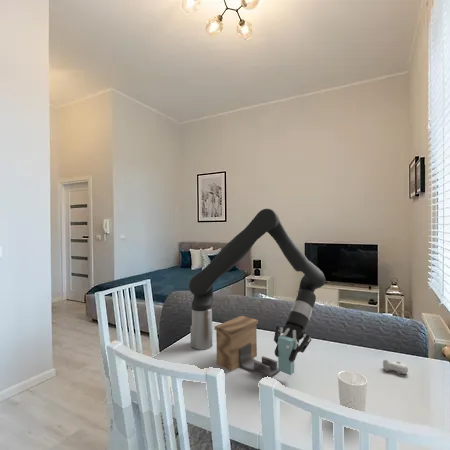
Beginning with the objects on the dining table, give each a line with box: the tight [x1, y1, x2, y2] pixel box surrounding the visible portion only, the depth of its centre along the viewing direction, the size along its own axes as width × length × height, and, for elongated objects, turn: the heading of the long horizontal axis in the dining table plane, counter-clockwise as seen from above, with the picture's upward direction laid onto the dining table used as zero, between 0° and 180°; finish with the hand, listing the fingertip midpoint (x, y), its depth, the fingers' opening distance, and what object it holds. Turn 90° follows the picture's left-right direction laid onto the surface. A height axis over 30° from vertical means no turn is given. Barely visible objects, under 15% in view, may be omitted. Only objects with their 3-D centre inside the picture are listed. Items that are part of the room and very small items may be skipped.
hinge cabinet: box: [214, 315, 281, 378], centre depth 112 cm, size 22×17×15 cm
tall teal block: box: [277, 334, 295, 376], centre depth 101 cm, size 5×3×12 cm
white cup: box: [337, 370, 368, 413], centre depth 84 cm, size 8×8×10 cm
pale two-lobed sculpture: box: [382, 358, 409, 375], centre depth 106 cm, size 4×8×5 cm
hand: (283, 358), depth 100 cm, fingers closed on tall teal block, 5 cm apart
